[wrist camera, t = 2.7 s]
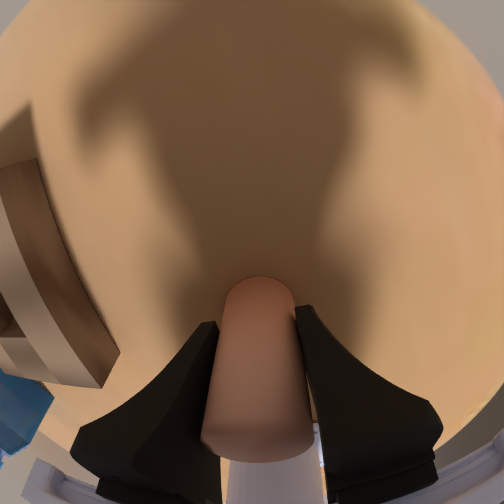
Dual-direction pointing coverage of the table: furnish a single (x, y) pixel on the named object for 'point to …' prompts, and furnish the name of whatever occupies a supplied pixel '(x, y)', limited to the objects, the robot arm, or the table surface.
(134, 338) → the table surface
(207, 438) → the peg
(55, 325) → the socket
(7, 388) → the perfume bottle
